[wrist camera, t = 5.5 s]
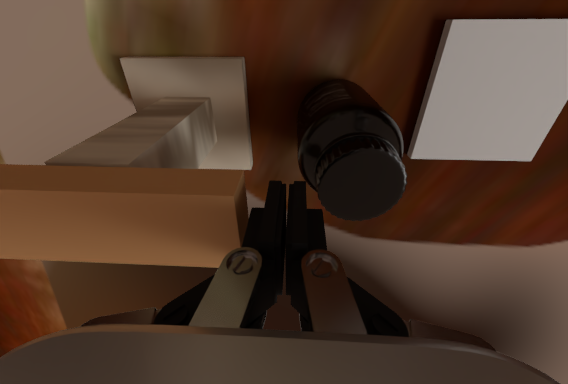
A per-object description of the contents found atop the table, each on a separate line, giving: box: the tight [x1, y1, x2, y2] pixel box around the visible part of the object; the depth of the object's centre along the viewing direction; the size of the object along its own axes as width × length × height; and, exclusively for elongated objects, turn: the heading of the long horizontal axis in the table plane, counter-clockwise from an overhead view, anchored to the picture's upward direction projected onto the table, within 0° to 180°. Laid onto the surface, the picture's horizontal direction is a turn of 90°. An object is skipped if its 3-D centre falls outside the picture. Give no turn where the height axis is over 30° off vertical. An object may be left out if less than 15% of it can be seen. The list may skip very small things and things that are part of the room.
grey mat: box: [407, 19, 568, 161], centre depth 21 cm, size 11×11×1 cm
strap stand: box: [45, 57, 253, 170], centre depth 18 cm, size 10×10×14 cm
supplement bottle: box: [297, 80, 407, 221], centre depth 18 cm, size 7×7×12 cm
